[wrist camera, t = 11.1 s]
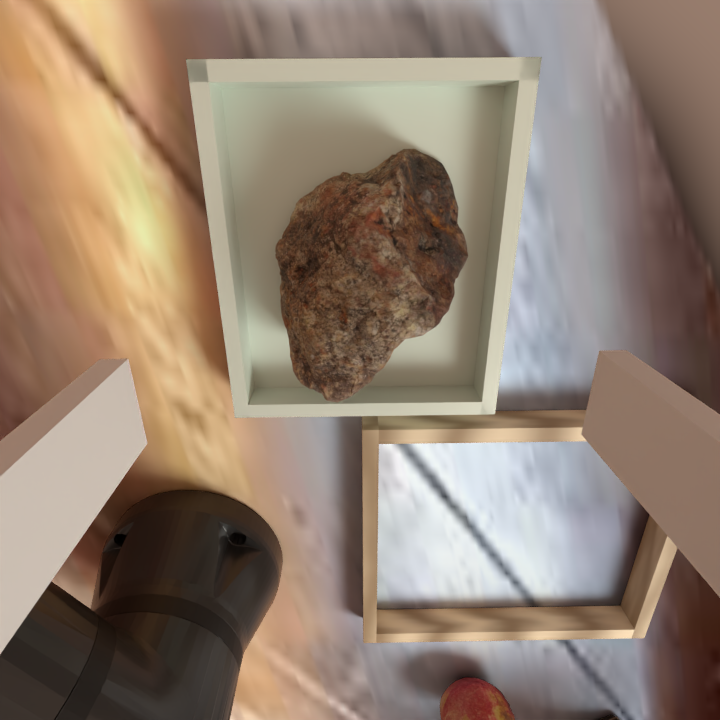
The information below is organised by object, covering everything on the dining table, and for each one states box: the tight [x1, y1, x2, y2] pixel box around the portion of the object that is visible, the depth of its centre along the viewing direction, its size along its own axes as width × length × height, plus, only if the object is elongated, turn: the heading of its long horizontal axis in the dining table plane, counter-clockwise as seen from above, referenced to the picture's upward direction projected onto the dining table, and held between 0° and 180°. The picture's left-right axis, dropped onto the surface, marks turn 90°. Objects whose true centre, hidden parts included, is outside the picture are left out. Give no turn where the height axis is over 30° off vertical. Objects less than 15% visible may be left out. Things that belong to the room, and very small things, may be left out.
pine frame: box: [362, 410, 678, 643], centre depth 40 cm, size 26×23×2 cm
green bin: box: [186, 57, 542, 418], centre depth 29 cm, size 18×21×4 cm
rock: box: [275, 149, 468, 402], centre depth 26 cm, size 14×9×10 cm
